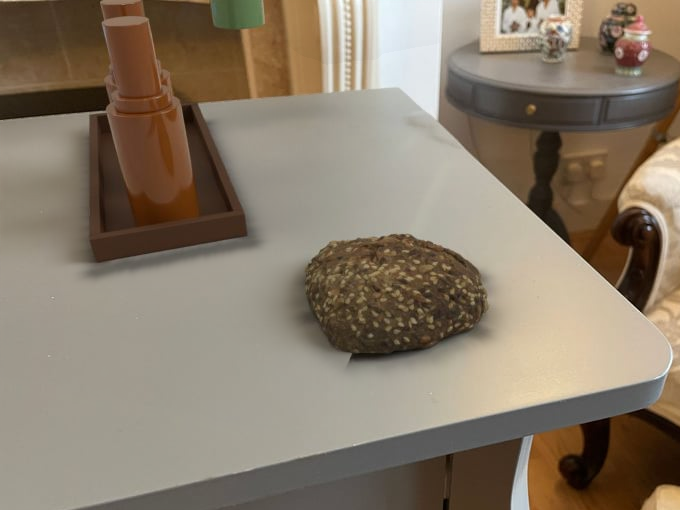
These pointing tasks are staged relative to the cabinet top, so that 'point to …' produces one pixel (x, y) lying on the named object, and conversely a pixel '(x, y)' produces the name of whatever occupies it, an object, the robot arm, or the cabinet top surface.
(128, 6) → the amber bottle middle
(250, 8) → the green bottle
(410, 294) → the bread roll
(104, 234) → the tray
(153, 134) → the amber bottle near
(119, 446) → the cabinet top surface
